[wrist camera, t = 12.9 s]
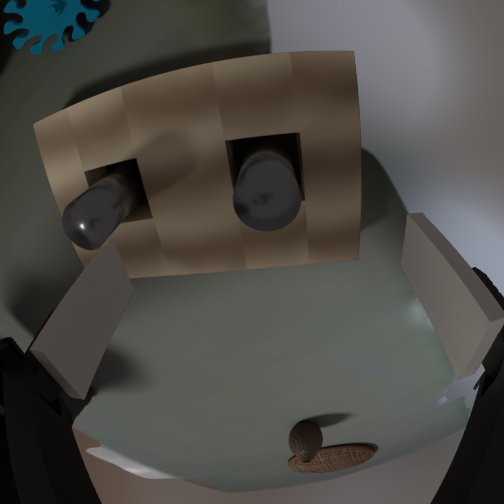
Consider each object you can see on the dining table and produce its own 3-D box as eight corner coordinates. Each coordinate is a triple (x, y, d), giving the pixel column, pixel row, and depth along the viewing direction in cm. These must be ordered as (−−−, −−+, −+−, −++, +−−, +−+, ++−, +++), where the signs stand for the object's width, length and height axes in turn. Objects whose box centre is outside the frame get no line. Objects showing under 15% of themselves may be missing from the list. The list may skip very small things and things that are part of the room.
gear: (44, 73, 19) (-19, 26, 10) (50, 51, 21) (-2, 8, 12) (133, 0, 17) (76, -65, 8) (128, -12, 19) (81, -66, 10)
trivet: (374, 457, 71) (374, 462, 70) (299, 471, 77) (299, 476, 75) (371, 435, 59) (372, 441, 57) (277, 452, 65) (277, 458, 63)
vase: (327, 420, 52) (331, 457, 45) (310, 432, 56) (312, 466, 48) (298, 416, 51) (299, 455, 44) (282, 428, 55) (282, 464, 47)
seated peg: (157, 194, 28) (113, 247, 20) (123, 200, 28) (74, 252, 20) (147, 156, 26) (95, 196, 17) (112, 164, 26) (55, 206, 18)
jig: (348, 237, 30) (358, 259, 26) (104, 260, 33) (89, 280, 29) (341, 55, 20) (353, 51, 17) (56, 116, 23) (33, 124, 20)
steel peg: (291, 177, 26) (302, 228, 18) (247, 181, 27) (238, 234, 19) (287, 134, 24) (298, 165, 16) (241, 139, 25) (227, 172, 16)
